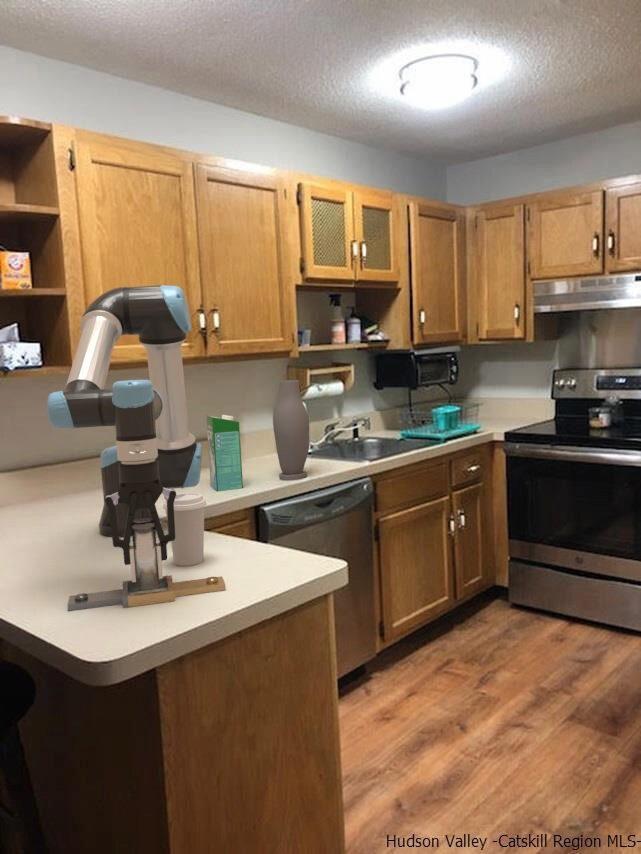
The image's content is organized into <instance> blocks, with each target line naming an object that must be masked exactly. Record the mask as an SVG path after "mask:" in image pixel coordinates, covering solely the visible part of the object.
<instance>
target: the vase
mask: <svg viewBox="0 0 641 854" xmlns="http://www.w3.org/2000/svg"><path fill="white" fill-rule="evenodd" d="M300 389H301V388H300V381H299V379H289V380H288V379H287V380H279V385H278V394H277V397H276V401H275V404H274V408H273V412H272V413H273V414H272V426H273V434H274V440H275V447H276V453H277V458H278V463H279V468H280V470H281V472H282V473H278V477H279V480H280V481H298V480H303V479H305V478H307V477H308V472H307V471H306V470H304V468H305V465H306V461H307V458H308V454H309V451H310V420H309V415H308V412H307V409H306V407H305V405H304V401H303V400H302V397H301V391H300Z"/></svg>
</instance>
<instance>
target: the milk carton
mask: <svg viewBox="0 0 641 854" xmlns="http://www.w3.org/2000/svg"><path fill="white" fill-rule="evenodd" d="M206 429H207V443H208V458H209V459H208V460H209V477H210V487H212V489H214V490H215V491H216V492H221V491H229V490H238V489H243V488H244V484H243V483H244V482H243V468H242V467H243V466H242V449H241V448H242V447H241V433H240V422H239V421H238V420H235V419H234V416H233V415H225V414H221V417H219V416H214V415H208V414H207V415H206Z"/></svg>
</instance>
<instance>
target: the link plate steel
mask: <svg viewBox="0 0 641 854" xmlns="http://www.w3.org/2000/svg"><path fill="white" fill-rule="evenodd" d="M167 576H168V575H163V578H162V579H159V584H160V585H159V587H157V588H155V589H163V588H168V587H167ZM155 589H154V590H155ZM138 591H139V592H140V591H141V590H138V589H137V588H136V582H132V579H131V580H125V581H122V588H121V589H114V590H103V591H98V592H97V591H96V592H90V593H89V592H88V593H84V592H83V593H78V594H74V595H69V598H68V602H67V611H68V612H70V611H79V610H86V609H92V608H93V609H94V608H101V607H108V606H115V605H117V606H118V605H122V608H123V609H125V608H130V607H129V606H128V595H130V593H131V592H138Z"/></svg>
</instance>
